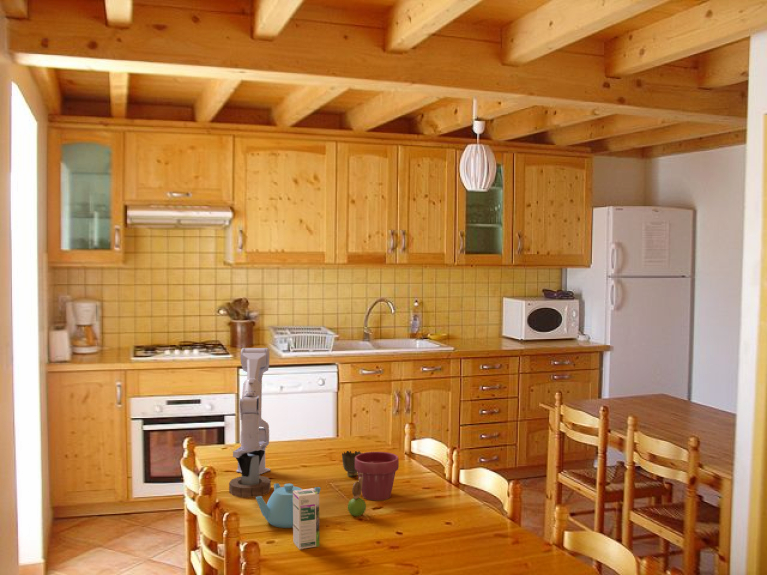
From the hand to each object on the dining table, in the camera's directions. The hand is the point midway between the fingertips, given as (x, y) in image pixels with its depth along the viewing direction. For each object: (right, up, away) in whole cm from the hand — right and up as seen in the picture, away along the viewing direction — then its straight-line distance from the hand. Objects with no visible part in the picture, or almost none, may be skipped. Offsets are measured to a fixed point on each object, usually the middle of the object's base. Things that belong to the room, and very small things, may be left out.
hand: (250, 474), depth 247 cm
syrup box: (+23, -8, -44) cm, 50 cm away
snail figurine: (+36, -7, -21) cm, 42 cm away
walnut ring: (0, -5, 0) cm, 5 cm away
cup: (+33, -5, +17) cm, 37 cm away
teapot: (+16, -7, -26) cm, 31 cm away
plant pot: (+41, -6, -4) cm, 42 cm away
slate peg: (0, -4, 0) cm, 4 cm away
